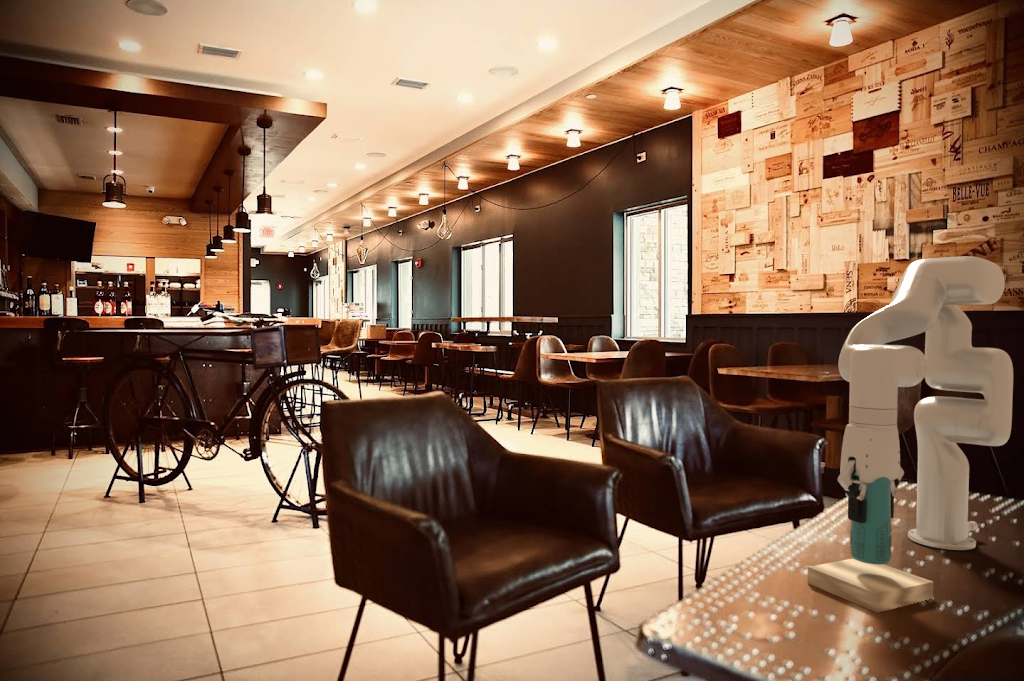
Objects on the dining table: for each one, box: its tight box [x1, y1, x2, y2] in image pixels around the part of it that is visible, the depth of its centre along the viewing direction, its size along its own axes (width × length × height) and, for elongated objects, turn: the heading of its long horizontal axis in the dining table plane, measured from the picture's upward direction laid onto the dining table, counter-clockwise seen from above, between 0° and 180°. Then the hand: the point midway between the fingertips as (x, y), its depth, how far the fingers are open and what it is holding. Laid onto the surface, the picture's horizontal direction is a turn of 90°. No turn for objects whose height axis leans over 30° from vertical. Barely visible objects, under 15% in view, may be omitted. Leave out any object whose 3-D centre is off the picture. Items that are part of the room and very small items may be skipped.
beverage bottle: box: [849, 477, 893, 565], centre depth 123 cm, size 6×7×20 cm
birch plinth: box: [807, 557, 934, 613], centre depth 123 cm, size 14×14×3 cm
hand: (870, 517), depth 123 cm, fingers closed on beverage bottle, 6 cm apart
